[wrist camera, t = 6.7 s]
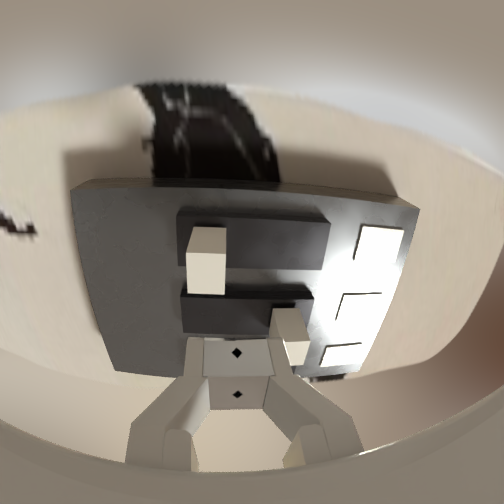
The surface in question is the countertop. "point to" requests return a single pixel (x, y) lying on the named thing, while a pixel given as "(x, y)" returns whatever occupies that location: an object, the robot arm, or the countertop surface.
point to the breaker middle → (291, 333)
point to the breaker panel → (239, 266)
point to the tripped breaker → (206, 261)
